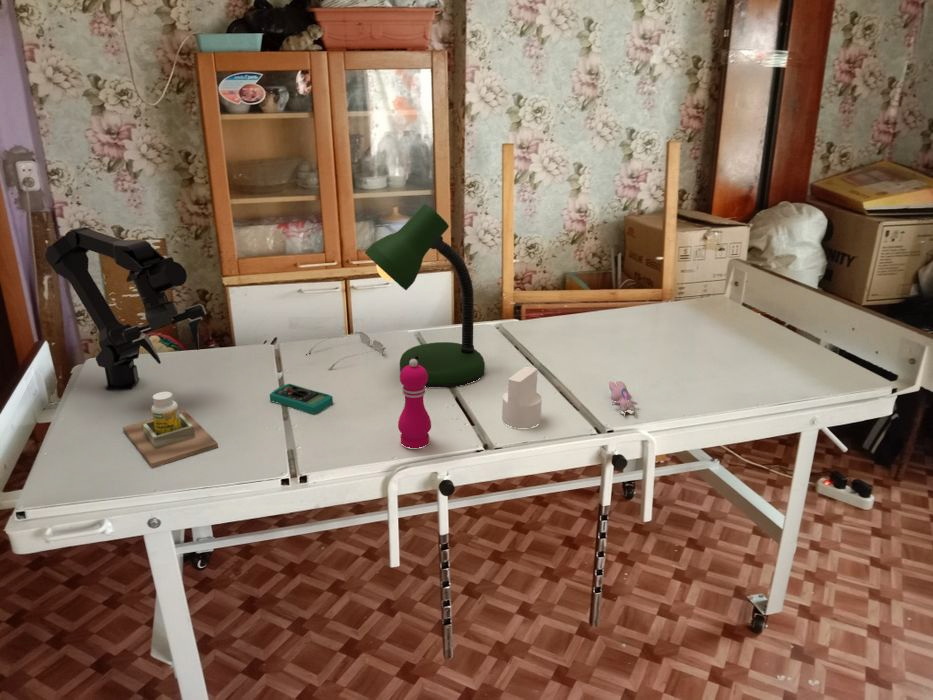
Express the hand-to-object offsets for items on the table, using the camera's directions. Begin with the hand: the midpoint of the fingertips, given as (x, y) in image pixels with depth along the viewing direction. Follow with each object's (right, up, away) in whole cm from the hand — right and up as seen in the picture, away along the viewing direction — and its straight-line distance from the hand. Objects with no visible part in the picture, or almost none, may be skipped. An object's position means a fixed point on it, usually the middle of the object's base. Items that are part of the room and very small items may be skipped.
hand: (179, 356), depth 180 cm
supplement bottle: (+3, -17, -13) cm, 22 cm away
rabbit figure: (+106, -12, +6) cm, 107 cm away
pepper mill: (+57, -19, -13) cm, 62 cm away
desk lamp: (+58, -5, +22) cm, 62 cm away
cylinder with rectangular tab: (+81, -15, -3) cm, 83 cm away
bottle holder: (+3, -18, -13) cm, 22 cm away
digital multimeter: (+28, -12, +5) cm, 31 cm away
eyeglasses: (+34, -1, +33) cm, 48 cm away
